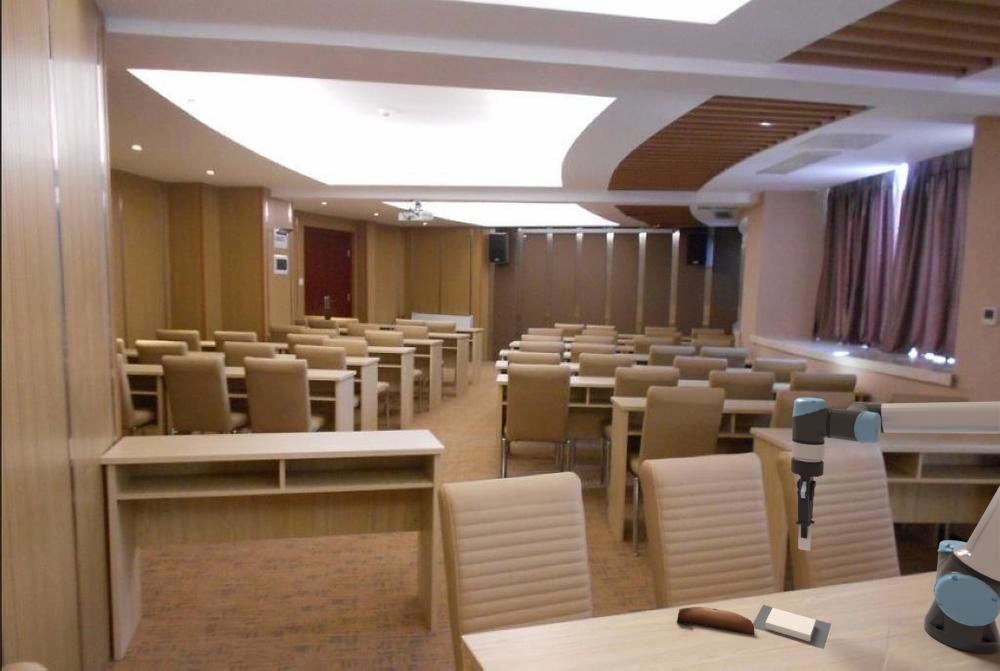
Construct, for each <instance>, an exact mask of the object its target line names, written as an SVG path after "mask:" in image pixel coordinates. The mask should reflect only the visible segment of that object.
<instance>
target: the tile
mask: <svg viewBox="0 0 1000 671" xmlns="http://www.w3.org/2000/svg"><path fill="white" fill-rule="evenodd" d="M779 609H780V608H777V609H776V607H773V608H772V610H771V612H770V614H769V616H768V618H767V620H766V622H765V629H769V630H772V631H775V632H779V633H782V634H785V635H789V636H792V637H795V638H799V639H802V640H805V641H809V642H810V640H811V638H812V635H813V632H814V629H815V625H816V620H817V619H816V620H815V618H813V617H809V618H808V616H805V617H804V615H802V616H801V614H798V613H794V612H791V613H790V611H786V610H784V611H783V609H780V610H779ZM797 614H798V615H797Z"/></svg>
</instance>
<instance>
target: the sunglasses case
mask: <svg viewBox="0 0 1000 671" xmlns="http://www.w3.org/2000/svg"><path fill="white" fill-rule="evenodd" d="M676 623H677V624H682V625H683V624H684V625H693V626H700V627H701V626H704V627H708V628H713V629H714V628H715V629H718V630H719V629H720V630H726V631H729V632H736V633H742V634H746V635H752V636H754V635H755V628H754V626H753V623H754V622H753V621H752V620H751V619H749V618H747V617H745V616H744V615H741V614H739V613H736V612H734V611H729V610H722V609H717V608H715V607H714V608H713V607H712V608H711V607H707V606H706V607H703V606H690V607H683V608H679V609H678V614H677V622H676Z"/></svg>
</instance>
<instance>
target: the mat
mask: <svg viewBox="0 0 1000 671" xmlns="http://www.w3.org/2000/svg"><path fill="white" fill-rule="evenodd" d="M772 608H774V607H773V606H769V605H765V604H762V606H761V608H760V610H759V612H758V614H757V615H756V617H755V619H754V621H753V622H752V623H753V626H754V629H756V630H759V631H764V632H765V633H766V632H767V633H770V634H773V635H776V636H779V637H783V638H786V639H790V640H793V641H797V642H799V643H802V644H806V645H809V646H812V647H816V648H820V649H822V650H824V649H825V645H826V641H827V639H828V635H829V631H830V630H831V629H830V628H831V624H832V623H830V622H826V621H823V620H820V619H815V618H814V619H815V620H816V625H815V629H814V632H813V635H812V638H811V640H810V642H809V641H805V640H802V639H799V638H795V637H792V636H789V635H785V634H782V633H779V632H775V631H772V630H769V629H765V622H766V620H767V618H768V616H769V614H770V612H771V610H772ZM775 608H776V607H775ZM776 609H779V610H781V609H780V608H776ZM782 610H783V609H782ZM783 611H785V610H783ZM789 612H790V611H789ZM790 613H792V612H790ZM796 614H797V615H799V614H798V613H796ZM800 615H801V614H800ZM801 616H804V615H801ZM804 617H806V616H804ZM807 617H808V616H807ZM808 618H810V617H808Z"/></svg>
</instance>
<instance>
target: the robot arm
mask: <svg viewBox="0 0 1000 671" xmlns="http://www.w3.org/2000/svg"><path fill="white" fill-rule="evenodd" d="M791 417H792V422H791V423H792V428H791V430H792V431H791V435H792V436H791V443H789V445H788V446H789V447H790V448H791V456H792V458H791V459H790V471H791V473H793V474H795V475H798V476H800V478H798V480H797V482H796V483H797V484H796V488H797V491H796V493H797V520H796V521H795V524H796V525H798V536H797V537H798V538H797V540H798V542H797V547H798V548H797V550H803V551H807V552H810V551H811V545H812V544H811V542H812V525H815V523H816V522H815V520H812V519H813V517H814V516H813V513H814V512H813V511H814V497H815V490H816V486H817V480H814V478H817V477H822V476H823V475H824V468H825V464H824V463H825V462H824V461H823V460H824V459H825V450H826V446H825V445H826V443H825V439H826V438H827V439H834V440H835V439H836V440H843V441H850V442H851V441H852V442H858V443H861V444H866V443H867V444H869V443H870V444H876V443H878V442H879V441H880V438H881V434H884V433H885V434H888V433H890V434H979V435H980V434H984V435H985V434H989V435H990V434H992V435H994V434H995V435H997V434H999V435H1000V401H998V400H997V401H996V400H995V401H955V402H954V401H953V402H951V401H949V402H948V401H947V402H945V401H944V402H943V401H942V402H893V403H888V402H887V403H867V402H863V401H862V402H855V403H852V404H850V405H849V406H848V407H847V408H846V409H843V408H832V407H828V405H827V401H826V400H825V399H824V398H817V397H797V398H796V399H795V400H794V402H793V410H792V415H791ZM937 552H938V555H937V568H936V575H935V576H936V577H935V583H934V585H933V595H934V599H933V601H932V604H931V605H930V607H929V608H928V610H927V612H926V615H925V617H924V621H923V623H924V624H923V625H924V626H923V628H924V630H925V632H926V633H928V635H929V636H931V637H932V638H933V639H935V640H936V641H939V642H941V643H943V644H944V645H947V646H949V647H952V648H955V649H958V650H961V651H966V652H970V653H975V654H985V655H986V654H994V653H996V652H999V650H1000V632H999V628H998V626H997V621H996V619H997V618H998V617H999V615H1000V486H998V488H997V490H996V492H995V494H994V496H993V497H992V499H991V501H990V502H989V504H988V506H987V507H986V509H985V510H984V513H983V514H982V516H981V518H980V520H979V521H978V523H977V525H976V527H975V528H974V530H973V532H972V533H971V535H970V537H969V538H968V540H967V542H966V541H960V540H952V539H951V540H950V539H948V540H947V539H946V540H942V541H940V542H939V546H938V549H937Z"/></svg>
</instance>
